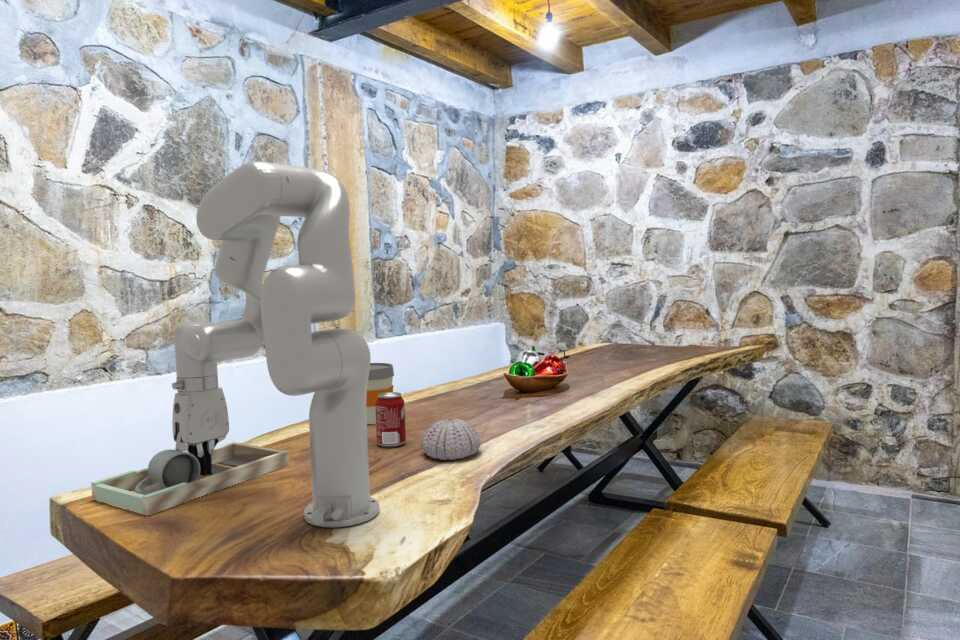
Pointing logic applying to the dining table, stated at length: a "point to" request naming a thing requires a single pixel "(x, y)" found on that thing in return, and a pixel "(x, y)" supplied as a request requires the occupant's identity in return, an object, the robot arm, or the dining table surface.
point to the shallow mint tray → (126, 493)
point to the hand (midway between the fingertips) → (203, 473)
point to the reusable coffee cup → (377, 386)
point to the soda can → (390, 419)
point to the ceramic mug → (169, 471)
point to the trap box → (240, 456)
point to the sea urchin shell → (450, 440)
